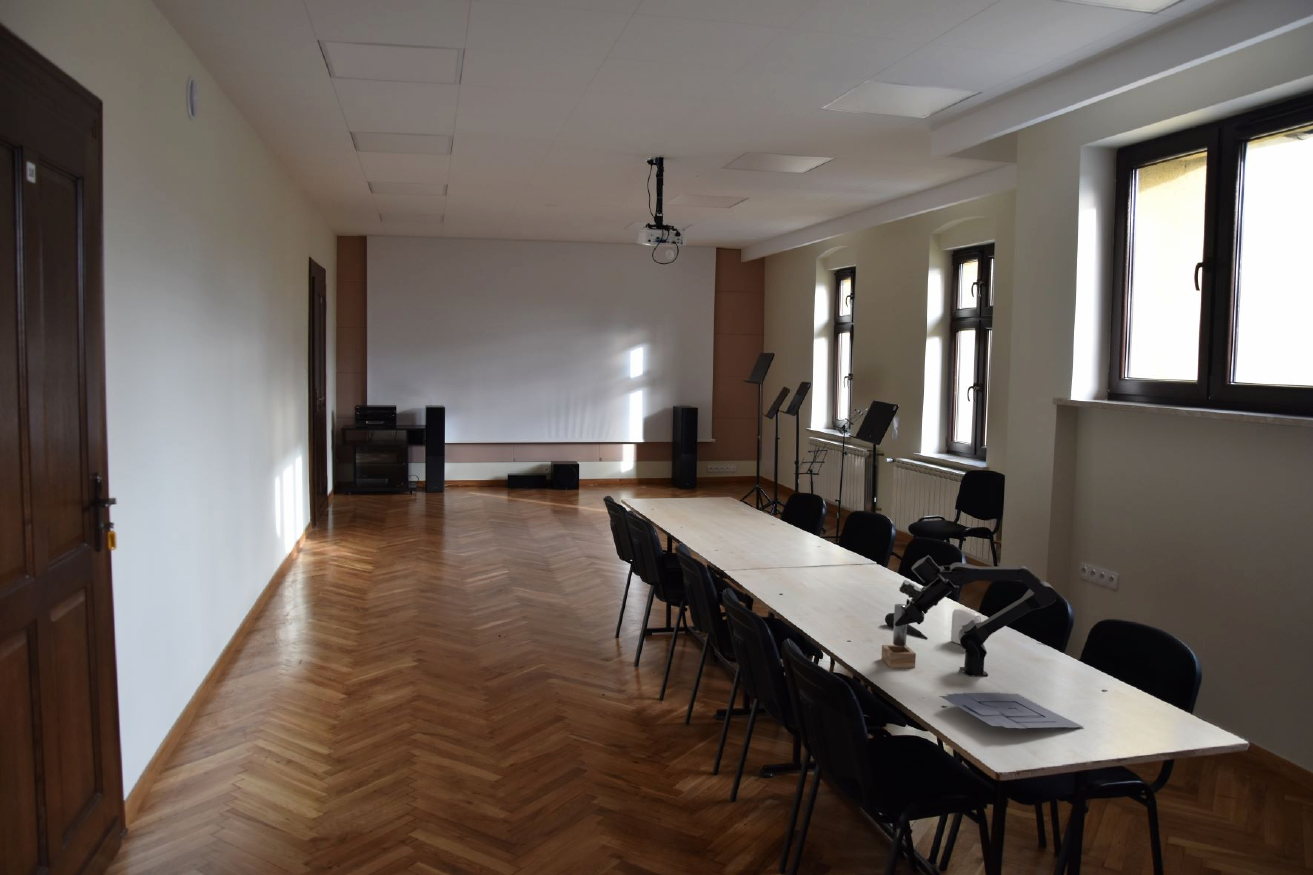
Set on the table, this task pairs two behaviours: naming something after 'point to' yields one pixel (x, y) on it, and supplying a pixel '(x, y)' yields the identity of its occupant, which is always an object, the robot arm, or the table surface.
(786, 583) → the table surface
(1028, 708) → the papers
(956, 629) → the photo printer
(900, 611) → the pin
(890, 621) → the microphone
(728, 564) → the table surface
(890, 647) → the socket block
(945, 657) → the table surface
